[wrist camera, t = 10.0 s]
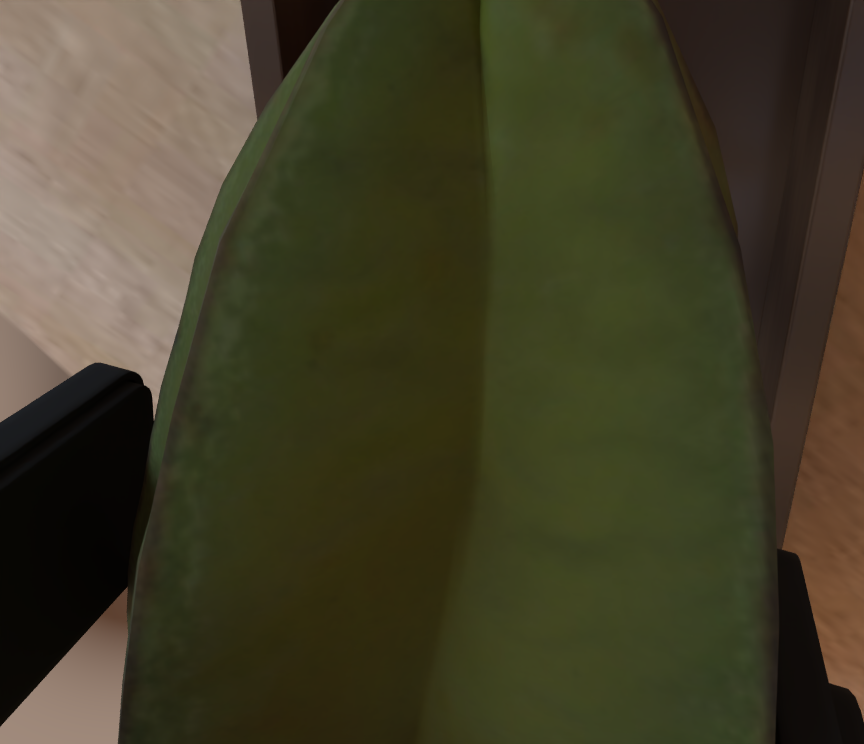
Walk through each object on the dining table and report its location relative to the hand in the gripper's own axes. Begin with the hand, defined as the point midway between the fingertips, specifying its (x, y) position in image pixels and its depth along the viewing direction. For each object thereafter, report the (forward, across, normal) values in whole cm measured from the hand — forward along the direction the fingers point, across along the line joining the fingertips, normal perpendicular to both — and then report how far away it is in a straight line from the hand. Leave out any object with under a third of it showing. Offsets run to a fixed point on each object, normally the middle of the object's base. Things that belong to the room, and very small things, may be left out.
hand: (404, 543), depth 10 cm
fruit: (-4, -1, +1) cm, 5 cm away
